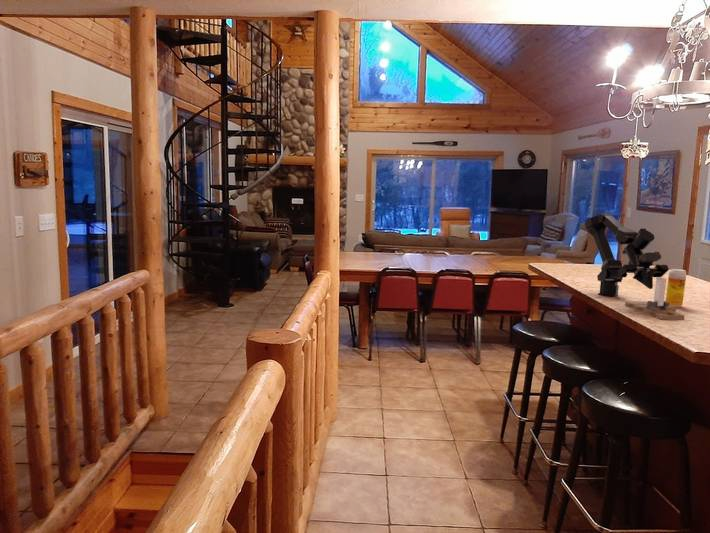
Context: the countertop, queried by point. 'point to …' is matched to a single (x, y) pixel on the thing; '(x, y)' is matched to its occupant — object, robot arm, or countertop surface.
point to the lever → (659, 292)
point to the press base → (655, 309)
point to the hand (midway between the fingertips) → (651, 288)
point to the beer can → (676, 287)
